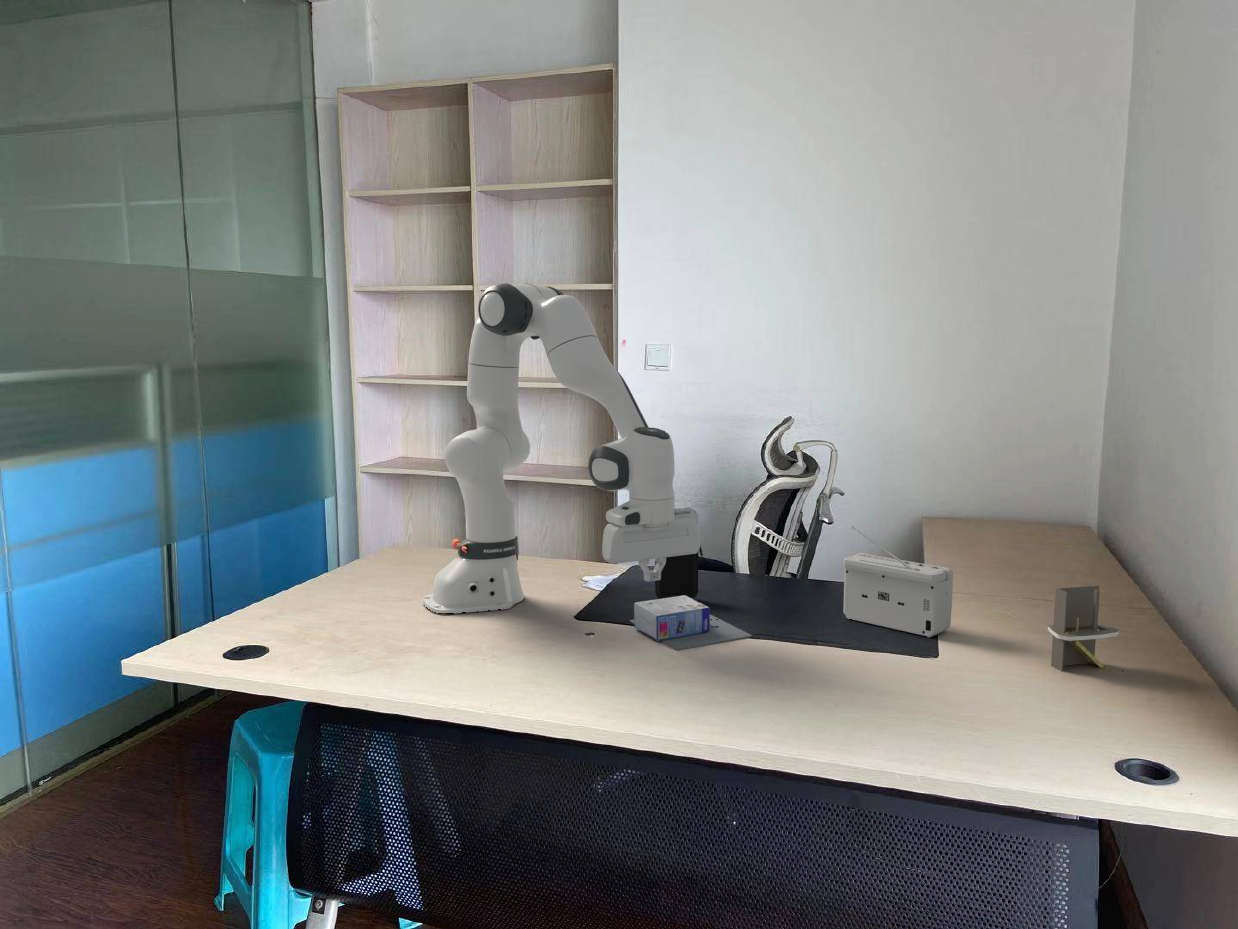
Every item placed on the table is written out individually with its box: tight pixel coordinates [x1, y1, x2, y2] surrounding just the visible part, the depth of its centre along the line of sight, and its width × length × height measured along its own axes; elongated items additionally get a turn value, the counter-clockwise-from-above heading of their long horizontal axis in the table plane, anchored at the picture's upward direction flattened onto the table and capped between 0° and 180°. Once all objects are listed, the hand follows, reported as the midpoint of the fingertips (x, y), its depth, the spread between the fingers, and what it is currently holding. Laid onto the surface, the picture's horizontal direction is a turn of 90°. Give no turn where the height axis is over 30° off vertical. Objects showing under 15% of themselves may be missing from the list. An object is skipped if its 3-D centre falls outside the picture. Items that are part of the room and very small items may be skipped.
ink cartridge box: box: [633, 595, 712, 642], centre depth 188 cm, size 10×6×14 cm
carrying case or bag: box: [654, 544, 704, 599], centre depth 209 cm, size 11×3×15 cm, turn 90°
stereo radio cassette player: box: [842, 525, 954, 639], centre depth 190 cm, size 21×8×20 cm, turn 47°
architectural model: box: [1047, 584, 1120, 672], centre depth 166 cm, size 20×25×15 cm
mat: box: [628, 614, 753, 651], centre depth 189 cm, size 17×20×1 cm
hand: (652, 580), depth 184 cm, fingers closed
